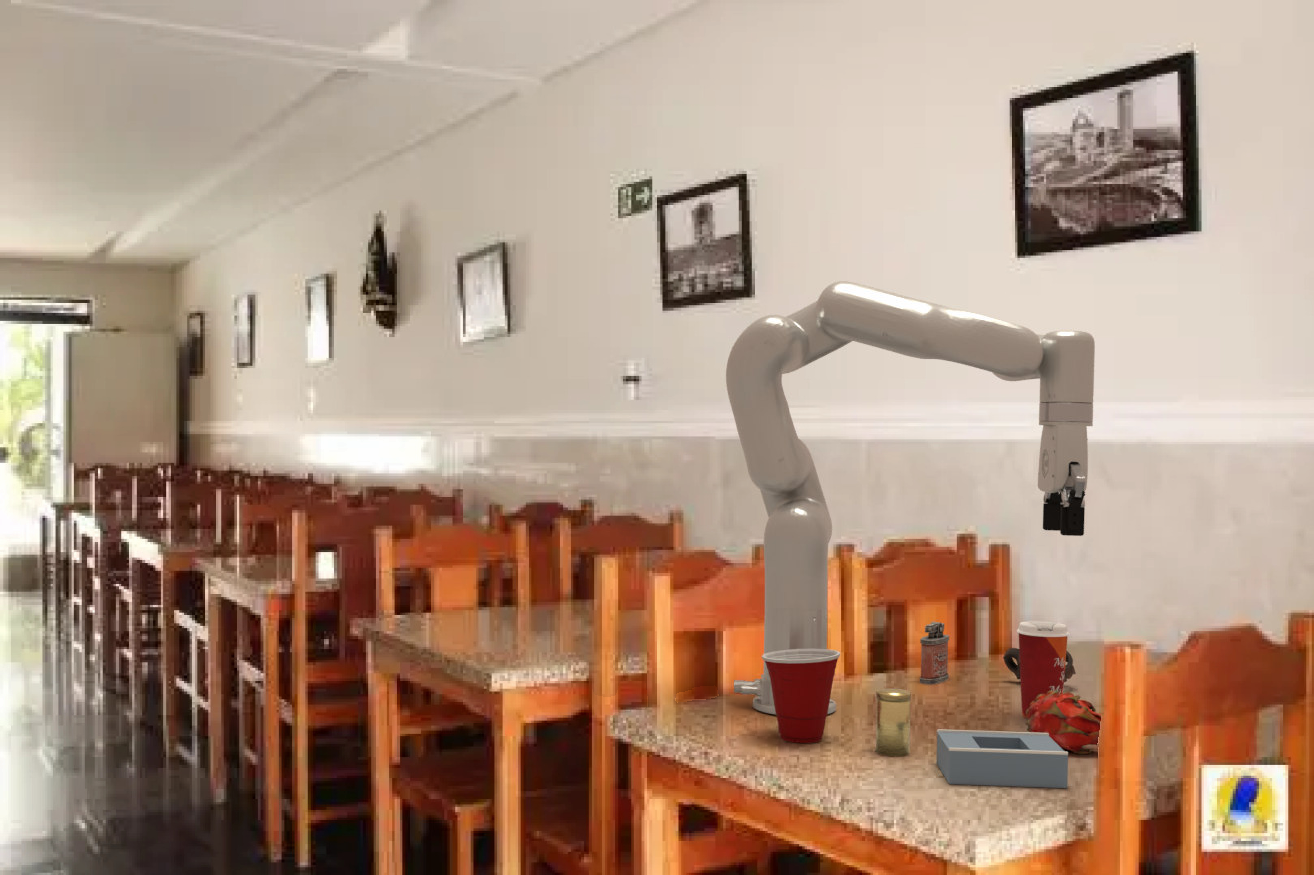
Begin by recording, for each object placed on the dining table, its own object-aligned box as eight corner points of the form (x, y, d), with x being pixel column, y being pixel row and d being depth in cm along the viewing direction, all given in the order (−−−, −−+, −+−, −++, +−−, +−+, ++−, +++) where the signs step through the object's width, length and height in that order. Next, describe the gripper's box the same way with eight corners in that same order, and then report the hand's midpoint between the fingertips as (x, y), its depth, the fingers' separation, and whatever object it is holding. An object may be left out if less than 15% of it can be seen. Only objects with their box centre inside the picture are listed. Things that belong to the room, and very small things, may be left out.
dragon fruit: (1020, 751, 178) (1106, 779, 170) (1006, 724, 172) (1094, 752, 164) (1042, 698, 181) (1127, 723, 174) (1029, 670, 175) (1116, 695, 168)
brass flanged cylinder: (877, 755, 167) (878, 694, 167) (873, 747, 172) (874, 687, 172) (911, 756, 167) (913, 695, 167) (907, 748, 172) (908, 688, 172)
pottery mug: (1074, 686, 220) (1083, 649, 216) (1060, 719, 213) (1070, 681, 209) (1005, 662, 225) (1013, 625, 221) (989, 693, 218) (998, 656, 214)
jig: (948, 783, 154) (949, 748, 154) (936, 762, 164) (937, 729, 164) (1067, 788, 153) (1068, 752, 153) (1047, 766, 163) (1048, 733, 163)
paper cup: (1071, 724, 188) (1072, 628, 188) (1016, 721, 190) (1018, 626, 190) (1065, 713, 196) (1066, 621, 196) (1013, 710, 197) (1014, 619, 197)
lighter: (934, 676, 225) (935, 619, 225) (952, 678, 223) (953, 620, 223) (915, 682, 218) (916, 624, 218) (933, 685, 216) (934, 626, 216)
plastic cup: (775, 726, 183) (777, 642, 183) (848, 734, 179) (850, 649, 179) (748, 741, 174) (750, 653, 174) (825, 751, 169) (826, 660, 169)
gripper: (1025, 416, 196) (1022, 527, 196) (1055, 414, 179) (1052, 536, 179) (1075, 417, 196) (1072, 529, 196) (1110, 415, 179) (1106, 538, 179)
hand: (1062, 532), depth 188 cm, fingers open, 9 cm apart
